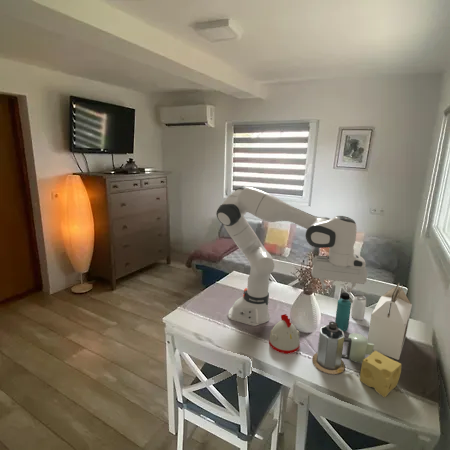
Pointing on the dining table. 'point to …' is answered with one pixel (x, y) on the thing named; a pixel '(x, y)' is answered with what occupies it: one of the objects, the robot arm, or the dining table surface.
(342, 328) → the beverage bottle
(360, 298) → the can
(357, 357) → the mug
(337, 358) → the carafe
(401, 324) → the gable box
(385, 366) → the cheese
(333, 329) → the plunger
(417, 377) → the dining table surface
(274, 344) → the kitchen timer
